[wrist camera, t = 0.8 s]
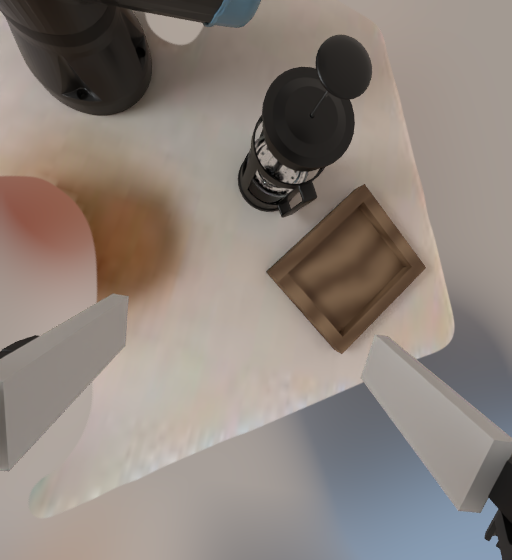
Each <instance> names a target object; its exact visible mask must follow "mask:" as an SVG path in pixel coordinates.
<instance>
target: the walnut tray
mask: <svg viewBox="0 0 512 560" xmlns="http://www.w3.org/2000/svg"><path fill="white" fill-rule="evenodd" d="M425 268H426V267H425V266H424V264H423V263H422V262H421V260H420V259H419V258H418V256H417V255H416V253H415V252H414V251H413V249H412V248H411V247H410V245H409V244H408V243H407V241H406V240H405V239H404V237H403V236H402V234H401V233H400V232H399V230H398V229H397V228H396V226H395V225H394V224H393V222H392V221H391V219H390V218H389V217H388V215H387V214H386V213H385V211H384V210H383V209H382V207H381V206H380V205H379V203H378V202H377V200H376V199H375V198H374V196H373V195H372V194H371V192H370V191H369V190H368V188H367V187H366V185H365V184H364V185H362V186H360V187H358V188H357V189H355V190H354V191H353V192H352V193H351V194H350V195H349V196H348V197H346V198H345V199H344V200H343V201H342V202H341V203H340V204H339V205H338V206H337V207H336V208H335V209H333V210H332V211H331V212H330V213H329V214H328V215H327V216H326V217H325V218H324V219H323V220H322V221H321V222H319V223H318V224H317V225H316V226H315V227H314V228H313V229H312V230H311V231H310V232H309V233H308V234H306V235H305V236H304V237H303V238H302V239H301V240H300V241H299V242H298V243H297V244H296V245H295V246H294V247H292V248H291V249H290V250H289V251H288V252H287V253H286V254H285V255H284V256H283V257H282V258H281V259H279V260H278V261H277V262H276V263H275V264H274V265H273V266H272V267H271V268H270V269H269V270H268V271H267V273H268V275H269V276H270V277H271V278H272V279H273V280H274V281H275V283H276V284H277V285H278V286H279V287H280V288H281V289H282V291H283V292H284V293H285V294H286V295H287V296H288V297H289V299H290V300H291V301H292V302H293V303H294V304H295V305H296V307H297V308H298V309H299V310H300V311H301V312H302V313H303V314H304V316H305V317H306V318H307V319H308V320H309V321H310V322H311V324H312V325H313V326H314V327H315V328H316V329H317V330H318V332H319V333H320V334H321V335H322V336H323V337H324V338H325V340H326V341H327V342H328V343H329V344H330V345H331V346H332V348H333V349H334V350H336V351H337V352H339V353H341V354H342V353H343V352H344V351H345V350H346V349H347V348H348V347H349V346H350V345H351V344H352V343H353V342H354V341H355V340H356V339H357V338H358V337H359V336H360V335H361V334H362V333H363V332H364V331H365V330H366V329H367V328H368V327H369V326H370V325H371V324H372V323H373V322H374V321H375V320H376V318H377V317H378V316H379V315H380V314H381V313H382V312H383V311H384V310H385V309H386V308H387V307H388V306H389V305H390V304H391V303H392V302H393V301H394V300H395V299H396V298H397V297H398V296H399V295H400V294H401V293H402V292H403V291H404V290H405V289H406V288H407V287H408V286H409V285H410V284H411V283H412V282H413V281H414V280H415V278H416V277H417V276H418V275H419V274H420V273H421V272H422V271H423V270H424V269H425Z"/></svg>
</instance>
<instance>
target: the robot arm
mask: <svg viewBox="0 0 512 560" xmlns="http://www.w3.org/2000/svg"><path fill="white" fill-rule="evenodd" d="M260 2H261V0H0V11H1V12H2V13H3V14H4V16H5V17H6V20H7V22H8V24H9V26H10V29H11V31H12V33H13V36H14V38H15V40H16V43H17V45H18V47H19V49H20V52H21V54H22V56H23V58H24V60H25V62H26V64H27V66H28V67H29V69H30V70H31V72H32V73H33V74H34V76H35V77H36V78H37V79H38V80H39V81H40V83H41V84H42V85H43V86H44V87H45V88H46V89H47V90H48V91H49V92H50V93H51V94H52V95H53V96H54V97H55V98H56V99H58V100H59V101H60V102H62V103H63V104H65V105H67V106H69V107H71V108H73V109H75V110H78V111H81V112H84V113H88V114H95V115H108V114H114V113H118V112H121V111H124V110H126V109H128V108H129V107H131V106H133V105H134V104H135V103H136V102H137V101H138V100H139V99H140V98H141V97H142V96H143V94H144V93H145V91H146V90H147V87H148V85H149V82H150V79H151V73H152V61H151V55H150V51H149V47H148V44H147V40H146V37H145V34H144V32H143V29H142V27H141V25H140V23H139V21H138V20H137V18H136V16H135V15H134V13H133V12H132V10H136V11H142V12H147V13H153V14H158V15H164V16H169V17H174V18H179V19H185V20H190V21H196V22H201V23H203V25H204V26H206V27H212V26H214V25H218V26H226V27H234V28H238V27H242V26H244V25H245V24H247V23H248V22H249V21H250V20H251V19H252V17H253V16H254V15H255V13H256V11H257V9H258V6H259V4H260ZM128 298H129V296H124V295H117V294H112V295H110V296H108V297H106V298H105V299H103V300H101V301H99V302H98V303H96V304H94V305H93V306H91V307H89V308H87V309H86V310H84V311H82V312H80V313H79V314H77V315H75V316H74V317H72V318H70V319H68V320H67V321H65V322H63V323H62V324H60V325H58V326H56V327H55V328H53V329H51V330H49V331H48V332H46V333H44V334H43V335H41V336H36V335H35V336H32V337H29V338H26V339H23V340H20V341H17V342H15V343H13V344H11V345H10V346H8V347H6V348H4V349H2V351H1V352H0V470H1V471H10V469H11V468H12V467H13V466H14V465H15V464H16V463H17V462H18V461H19V460H20V458H22V457H23V455H24V454H25V453H26V452H27V451H28V450H29V449H30V448H31V447H32V446H33V445H34V444H35V443H36V441H37V440H38V439H39V438H40V437H41V436H42V435H43V434H44V433H45V432H46V431H47V430H48V428H49V427H50V426H51V425H52V424H53V423H54V422H55V421H56V420H57V419H58V418H59V417H60V416H61V414H62V413H63V412H64V411H65V410H66V409H67V408H68V407H69V406H70V405H71V404H72V403H73V401H74V400H75V399H76V398H77V397H78V396H79V395H80V394H81V393H82V392H83V391H84V389H86V387H87V386H88V385H89V384H90V383H91V382H92V381H93V380H94V379H95V378H96V377H97V376H98V375H99V373H100V372H101V371H102V370H103V369H104V368H105V367H106V366H107V365H108V364H109V363H110V362H111V360H112V359H113V358H114V357H115V356H116V355H117V354H118V353H119V352H120V351H121V350H122V349H123V348H124V346H125V343H126V328H127V313H128ZM361 379H362V380H363V381H364V383H365V384H366V385H367V387H368V388H369V390H370V391H371V392H372V393H373V395H374V396H375V398H376V399H377V400H378V402H379V403H380V405H381V406H382V407H383V408H384V410H385V411H386V413H387V414H388V416H389V417H390V418H391V420H392V421H393V422H394V424H395V425H396V426H397V428H398V429H399V431H400V432H401V433H402V435H403V436H404V437H405V439H406V440H407V441H408V443H409V444H410V446H411V447H412V448H413V450H414V451H415V452H416V454H417V455H418V456H419V458H420V459H421V461H422V462H423V463H424V465H425V466H426V467H427V469H428V470H429V471H430V473H431V474H432V476H433V477H434V478H435V480H436V481H437V482H438V484H439V485H440V486H441V488H442V489H443V490H444V492H445V493H446V495H447V496H448V497H449V499H450V500H451V501H452V503H453V504H454V505H455V507H456V508H457V510H458V511H466V512H476V513H481V511H482V509H483V507H484V505H485V503H486V501H487V499H488V498H490V500H491V501H492V502H493V503H494V504H495V505H496V506H497V507H498V511H497V513H496V514H495V516H494V518H493V520H492V522H491V524H490V525H489V527H488V529H487V531H486V533H485V539H486V540H488V541H490V539H491V537H492V536H495V535H496V536H498V540H499V541H498V543H497V544H496V547H498V548H499V549H500V550H501V555H502V560H512V438H511V437H510V436H509V435H508V434H506V433H505V432H504V431H502V430H501V429H500V428H499V427H498V426H496V425H495V424H494V423H493V422H492V421H490V420H489V419H488V418H487V417H486V416H484V415H483V414H482V413H481V412H480V411H478V410H477V409H476V408H475V407H473V406H472V405H471V404H470V403H469V402H467V401H466V400H465V399H464V398H462V397H461V396H460V395H459V394H458V393H456V392H455V391H454V390H453V389H452V388H450V387H449V386H448V385H447V384H445V383H444V382H443V381H442V380H441V379H439V378H438V377H437V376H435V375H434V374H433V373H432V372H430V371H429V370H428V369H427V368H426V367H425V366H423V365H422V364H421V363H420V362H418V361H417V360H416V359H415V358H414V357H413V356H411V355H410V354H409V353H408V352H406V351H405V350H404V349H403V348H402V347H400V346H399V345H398V344H397V343H395V342H394V341H393V340H392V339H391V338H389V337H388V336H382V335H376V334H375V336H374V339H373V342H372V345H371V348H370V351H369V354H368V357H367V360H366V364H365V367H364V370H363V373H362V376H361Z"/></svg>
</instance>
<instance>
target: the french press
mask: <svg viewBox="0 0 512 560" xmlns="http://www.w3.org/2000/svg"><path fill="white" fill-rule="evenodd" d="M371 76H372V65H371V60H370V58H369V55H368V53H367V51H366V50H365V48H364V47H363V46H362V45H361V43H359V42H358V41H357V40H356V39H354V38H352V37H349V36H346V35H335V36H332V37H330V38H328V39H327V40H326V41H324V43H323V44H322V45H321V46H320V48H319V50H318V53H317V56H316V69H315V68H311V67H298V68H293V69H290V70H288V71H285V72H284V73H282V74H281V75H279V76H278V77H277V78H276V79H275V80H274V81H273V83H272V84H271V85H270V87H269V89H268V91H267V93H266V96H265V99H264V102H263V109H262V115H261V117H260V118H259V120H258V122H257V123H256V126H255V129H254V132H253V136H252V140H251V149H250V151H249V153H248V154H247V156H246V158H245V160H244V162H243V163H242V165H241V167H240V170H239V174H238V185H239V189H240V192H241V194H242V196H243V197H244V199H245V200H246V201H247V202H248V203H249V204H250V205H251V206H252V207H254V208H256V209H258V210H261V211H266V212H270V211H276V210H279V211H280V214H281V217H286V216H289V215H291V214H293V213H295V212H296V211H298V210H299V209H301V208H302V207H304V206H306V205H307V204H309V203H310V202H312V201H313V200H315V199H316V198H317V195H316V192H315V189H314V186H313V183H312V181H313V180H314V179H315V178H317V177H318V176H319V175H320V173H321V172H322V171H323V170H324V168H325V167H326V166H328V165H330V164H332V163H334V162H335V161H336V160H338V159H339V158H340V157H341V156H342V155H343V154H344V153H345V151H346V150H347V148H348V147H349V145H350V143H351V140H352V137H353V134H354V125H355V122H354V112H353V108H352V104H351V102H350V99H354V98H356V97H359V96H360V95H361V94H363V93H364V92H365V90H366V89H367V87H368V86H369V83H370V80H371ZM262 121H263V130H262V132H261V135H260V138H259V139H257V140H256V141H255V132H256V130H257V128H258V126H259V125H260V123H261V122H262ZM318 168H320V169H319V171H318V173H317V174H316V175H315V177H314V178H312V179H311V180H309V181H307V182H305V181H306V178H307V175H308V172H309V171H313V170H316V169H318ZM252 181H253V183H254V184H255V185H256V187H257V188H259V189H260V190H261V191H262V192H264V193H266V194H268V195H270V196H274V197H283V198H281V199H280V200H278V201H276V202H272V203H267V202H263V201H261V200H259V199H258V198H256V197H255V196H254V195H253V194H252V193H251V192H250V190H249V186H250V184H251V182H252ZM299 192H300V194H301V197H302V202H300V203H299V204H298V205H296V206H295V207H293V208H292V209H291V207H290V205H289V202H290V201H291V199H292V198H293V197H294V196H295V195H296V194H297V193H299Z"/></svg>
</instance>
